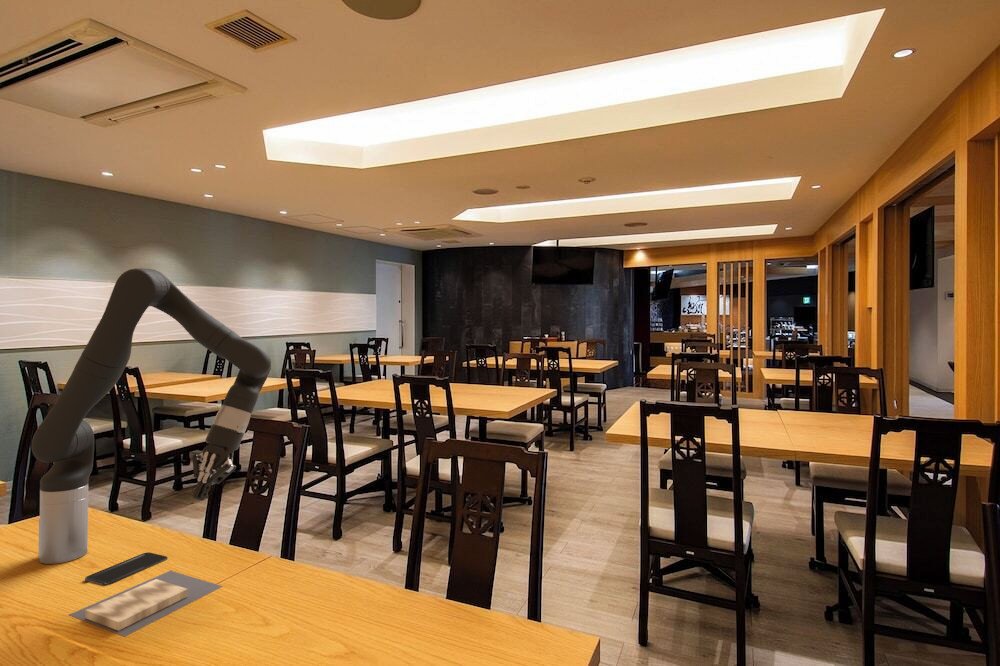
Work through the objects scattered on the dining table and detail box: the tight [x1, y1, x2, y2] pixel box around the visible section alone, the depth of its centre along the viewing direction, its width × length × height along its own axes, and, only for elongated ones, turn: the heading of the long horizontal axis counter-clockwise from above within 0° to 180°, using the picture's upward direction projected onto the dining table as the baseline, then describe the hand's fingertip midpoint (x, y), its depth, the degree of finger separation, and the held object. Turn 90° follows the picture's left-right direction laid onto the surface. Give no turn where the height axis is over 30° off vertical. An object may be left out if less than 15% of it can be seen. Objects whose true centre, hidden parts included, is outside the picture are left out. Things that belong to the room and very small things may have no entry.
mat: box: [68, 570, 224, 637], centre depth 112 cm, size 17×21×1 cm
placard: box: [85, 579, 188, 631], centre depth 109 cm, size 10×2×14 cm
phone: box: [84, 552, 169, 587], centre depth 125 cm, size 8×1×15 cm
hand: (198, 499), depth 125 cm, fingers closed
